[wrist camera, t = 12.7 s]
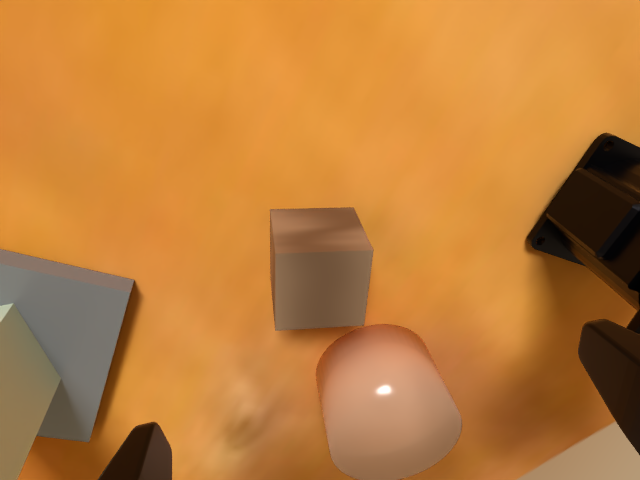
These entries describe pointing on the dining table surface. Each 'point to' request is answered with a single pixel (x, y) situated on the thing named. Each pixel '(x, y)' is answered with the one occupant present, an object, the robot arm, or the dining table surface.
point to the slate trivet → (68, 332)
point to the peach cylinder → (385, 404)
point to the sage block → (21, 390)
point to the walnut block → (318, 268)
